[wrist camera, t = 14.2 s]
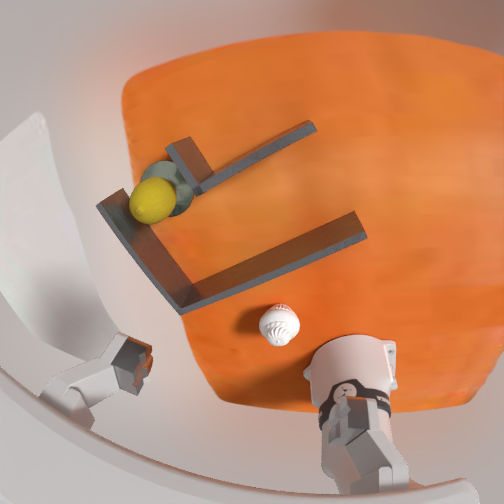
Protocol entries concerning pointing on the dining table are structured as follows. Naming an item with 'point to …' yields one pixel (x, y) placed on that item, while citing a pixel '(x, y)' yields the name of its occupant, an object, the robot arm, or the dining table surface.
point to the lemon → (152, 200)
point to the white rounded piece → (279, 324)
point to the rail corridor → (186, 185)
